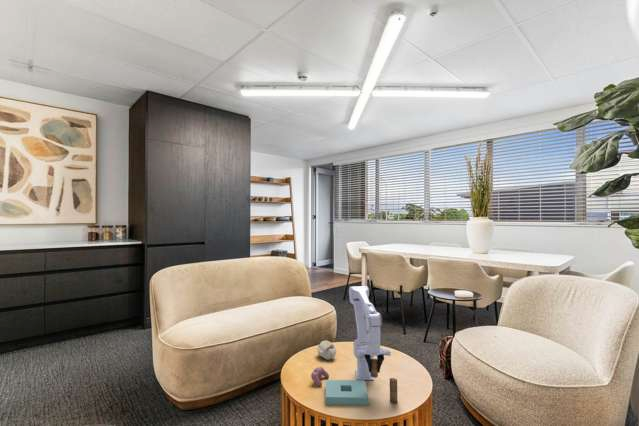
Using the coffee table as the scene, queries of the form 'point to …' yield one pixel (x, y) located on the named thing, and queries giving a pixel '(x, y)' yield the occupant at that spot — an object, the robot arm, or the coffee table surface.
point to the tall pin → (393, 390)
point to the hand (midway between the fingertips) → (374, 371)
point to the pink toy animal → (319, 375)
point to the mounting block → (346, 392)
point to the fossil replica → (326, 350)
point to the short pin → (374, 368)
